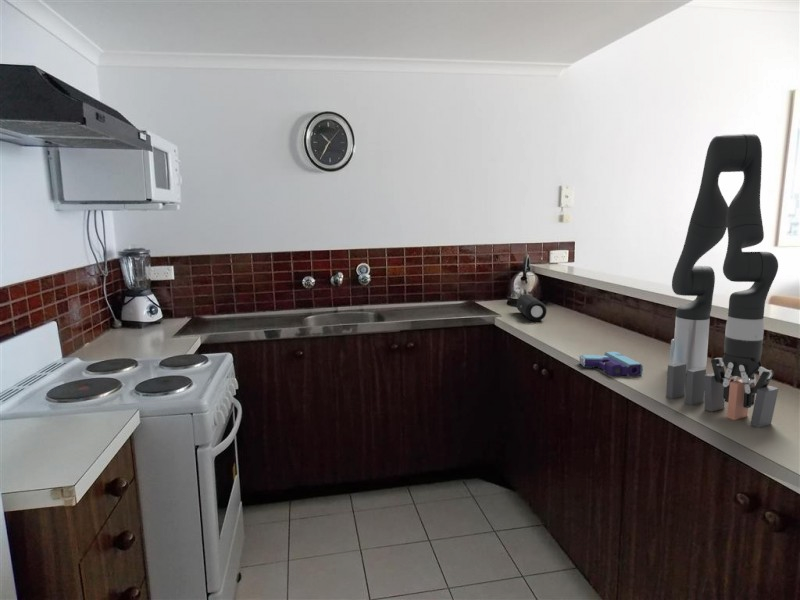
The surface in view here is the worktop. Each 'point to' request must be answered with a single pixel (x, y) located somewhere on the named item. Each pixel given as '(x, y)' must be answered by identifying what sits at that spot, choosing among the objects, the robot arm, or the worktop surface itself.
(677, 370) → the domino
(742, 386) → the domino
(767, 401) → the domino
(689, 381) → the domino
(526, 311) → the portable speaker
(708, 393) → the domino
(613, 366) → the pistol
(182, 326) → the worktop surface
